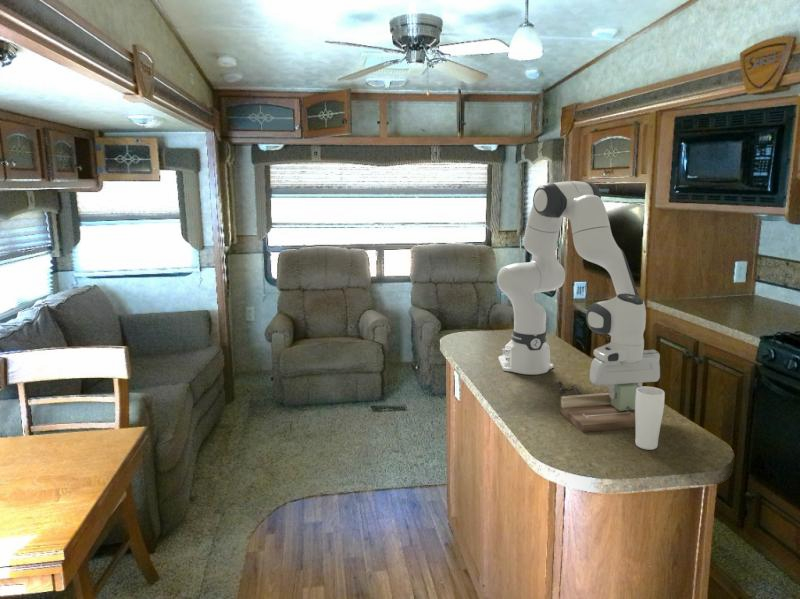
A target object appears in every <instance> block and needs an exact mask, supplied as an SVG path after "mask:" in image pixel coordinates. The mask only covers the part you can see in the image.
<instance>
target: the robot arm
mask: <svg viewBox="0 0 800 599" xmlns="http://www.w3.org/2000/svg"><path fill="white" fill-rule="evenodd" d="M564 218H567V219H568V221H569V222H570V228H571V229H570V230H571V234H572V235H571V236H572V242H573V246H574V249H575V251H576V253H577V254H578V255H579V257H581V258H583V260H586V261H587V262H590V263H592V264H596V265H598V266H600V267H602V268H603V269H605V270H606V271H607V272H608V274H609V276H610V278H611V280H612V281H611V282H612V284H613V288H614V291H615V294H616V295H615V297H613V298H610V299H607V300H602V301H601V300H600V301H598V302H597V301H596V302H593V303H591V304H590V305H589V306H588V308H587V310H586V316H585V320H586V324H587V326H588V328H589V329H590V330H591V332H593V333H595V334H599V335H609V336H610V342H608V343H606V344H603V345H602V346H599V347H596V348H595V349H593V353H592V354H593V356H594V358H593V359H592V361H591V364H590V369H589V380H590V382H591V383H592V384H594V385H595V386H599V387H600V386H606V387H607V390H608V391H609V393H610V395H609V396H610V398H611V399H616V398H617V392H615V391H614V390H613V388H614V387H615V385H616V384H629V383H633V384H634V385H636V386H637V388H638V387H643V383H652V382H653V383H654V382H658V381H659V379H660V378H661V366H660V359H661V355H660V353H659V351H657V350H656V349H644V348H645V339H644V332H645V330H646V322H647V320H646V318H647V309H646V305H645V301H644V300H643V298H642V297H640V296H639V293H638V290H637V288H636V284H635V281H634V277H633V274H632V271H631V269H630V265H629V262H628V259H627V257H626V255H625V253H624V251H623V249H622V248H621V247H619V245H618V244H617V242H616V240H615V238H614V236H613V233H612V229H611V224H610V220H609V219H610V218H609V216H608V212H607V210H606V206H605V204H604V202H603V200H602V195H601V190H600V188H599V186H598V185H596V183H593V182H590V181H585V180H584V181H577V180H566V181H558V182H545V183H544V184H541V185H539V186H538V187H537V188H536V189H535V190H534V194H533V197H532V206H531V208H530V211H529V214H528V218H527V222H526V226H525V230H524V235H523V238H522V239H523V240H522V244H523V247H524V249H525V251H527V252H528V253H529V254H530V255H531V260H530V261H529V262H516V263H515V262H513V263H511V264H508V265H504V266H502V267H501V268H500V269H499V270H498V273H497V277H496V282H497V286H498V288H499V290H500V291H501V292H502V293H504V294H505V295H506V297H507V298H508V300H510V303H511V305H512V310H513V329H512V332H511V337H510V338H511V339H510V341H509V342H508V343H506V344H505V346H504V348H502V350H501V354H502V355H499V356H498V362H499V364H500V366H501V368H502V370H503V371H505V372H512V373H517V374H520V375H521V374H522V375H533V376H534V375H543V374H545V373H548V371H550V370H551V369H553V368H554V363H551V350H550V347H551V346H550V345H549V344H548V343H547V341H548V340H547V338H548V334H547V331H546V328H547V325H546V324H547V311H546V309H545V308H544V307H543V305H541V304H540V303H538V302H536V300H535V293H546V292H552V291H555V290H557V289H560V288H561V287H562V286H563V285H564V284H565V279H566V271H565V269H564V267H563V265H562V264H561V263H560V262H559V261H558V258H557V255H556V254H557V251H556V250H557V244H558V239H559V235H560V230H561V226H562V221H563V219H564Z"/></svg>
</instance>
